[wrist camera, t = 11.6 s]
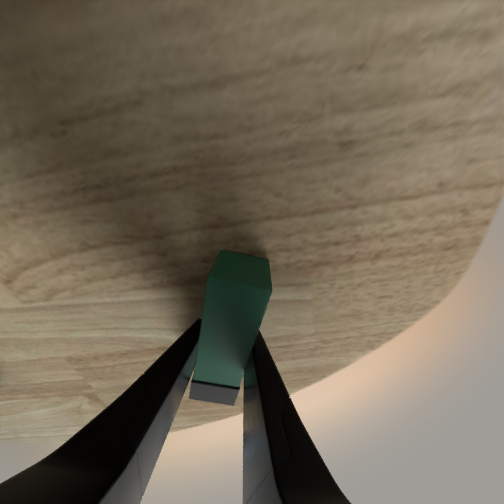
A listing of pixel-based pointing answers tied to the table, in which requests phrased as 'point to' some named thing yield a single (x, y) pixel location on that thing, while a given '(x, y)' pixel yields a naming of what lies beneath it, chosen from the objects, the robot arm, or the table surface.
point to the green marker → (229, 325)
